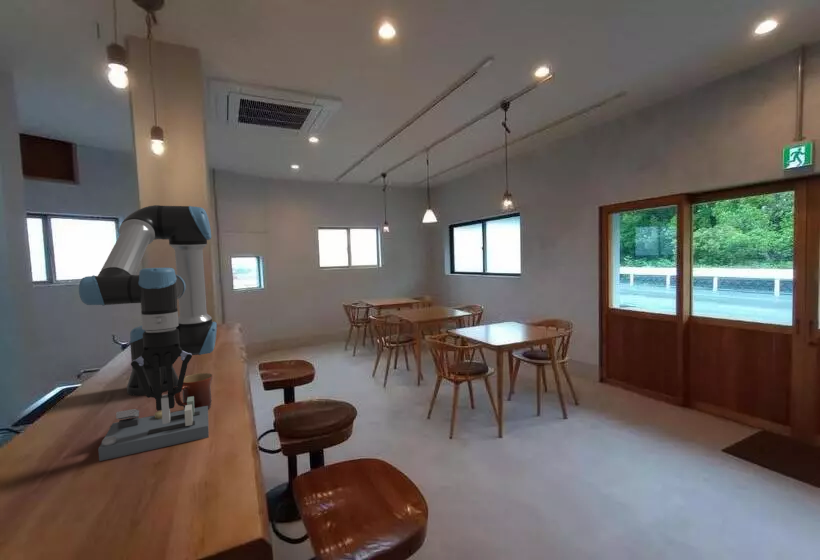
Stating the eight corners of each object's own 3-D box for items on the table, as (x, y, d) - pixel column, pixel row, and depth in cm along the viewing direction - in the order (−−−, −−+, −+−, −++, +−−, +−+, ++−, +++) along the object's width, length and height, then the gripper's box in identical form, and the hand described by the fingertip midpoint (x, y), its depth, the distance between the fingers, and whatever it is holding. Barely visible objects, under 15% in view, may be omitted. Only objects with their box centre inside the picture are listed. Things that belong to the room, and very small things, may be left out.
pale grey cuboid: (186, 420, 97) (185, 405, 97) (192, 418, 98) (191, 404, 98) (185, 426, 94) (184, 410, 93) (192, 424, 94) (191, 409, 94)
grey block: (188, 411, 103) (187, 397, 103) (194, 410, 104) (193, 396, 103) (187, 416, 99) (186, 402, 99) (194, 415, 100) (193, 400, 100)
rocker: (122, 419, 98) (122, 412, 98) (139, 416, 100) (139, 409, 100) (116, 418, 91) (116, 411, 92) (133, 415, 93) (133, 408, 93)
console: (113, 434, 97) (112, 417, 97) (208, 415, 108) (207, 400, 108) (99, 461, 84) (97, 442, 84) (208, 437, 95) (207, 420, 95)
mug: (196, 404, 117) (194, 372, 116) (220, 405, 115) (219, 373, 115) (164, 420, 105) (162, 385, 105) (190, 423, 103) (188, 387, 103)
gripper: (125, 335, 85) (132, 434, 87) (190, 329, 92) (196, 421, 93) (131, 329, 92) (137, 421, 94) (191, 324, 98) (196, 410, 100)
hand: (166, 421), depth 93 cm, fingers closed
